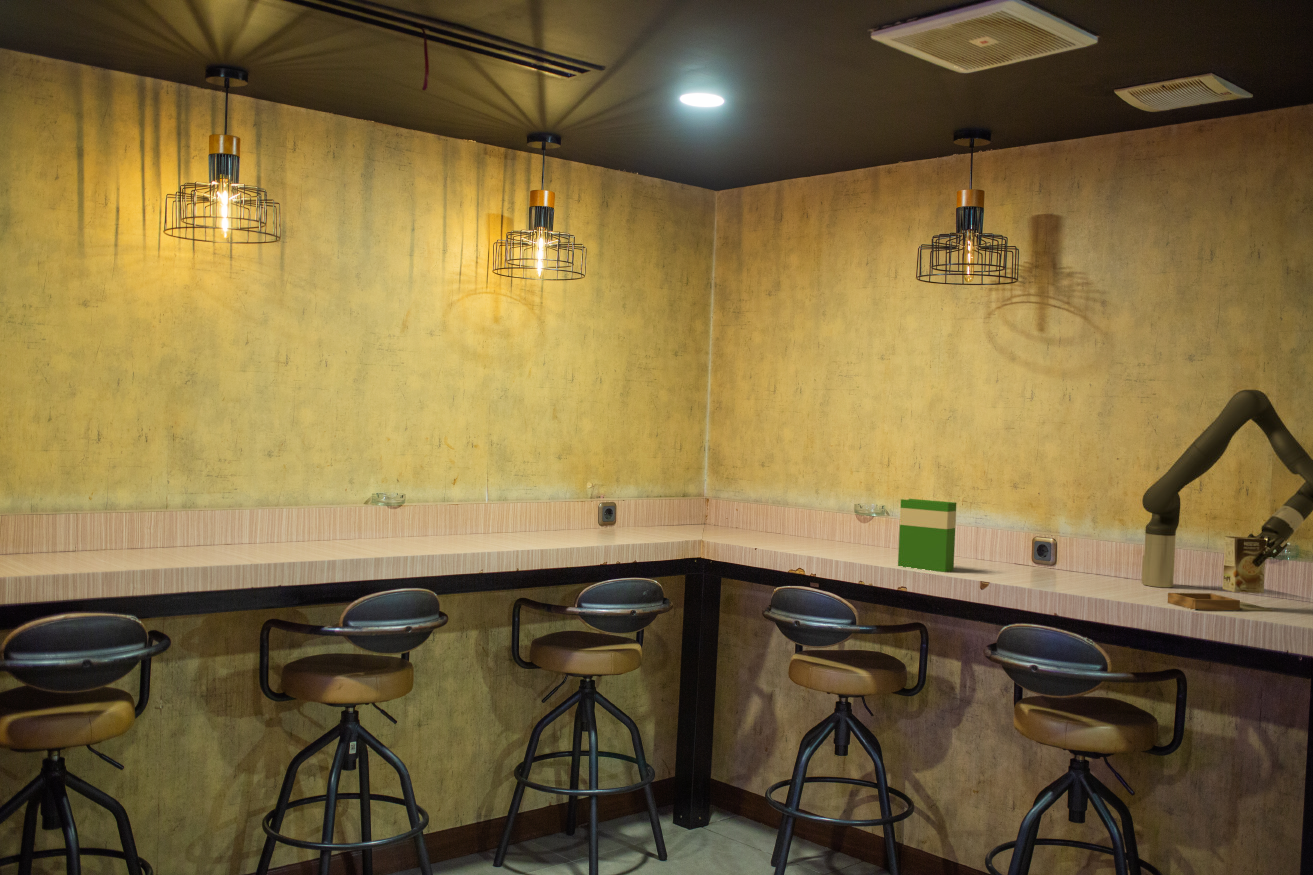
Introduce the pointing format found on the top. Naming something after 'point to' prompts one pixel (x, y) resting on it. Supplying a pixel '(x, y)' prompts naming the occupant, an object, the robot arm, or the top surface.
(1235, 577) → the coffee box
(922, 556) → the green cereal box
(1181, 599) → the walnut cradle
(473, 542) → the top surface
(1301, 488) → the robot arm
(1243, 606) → the rubber mat
